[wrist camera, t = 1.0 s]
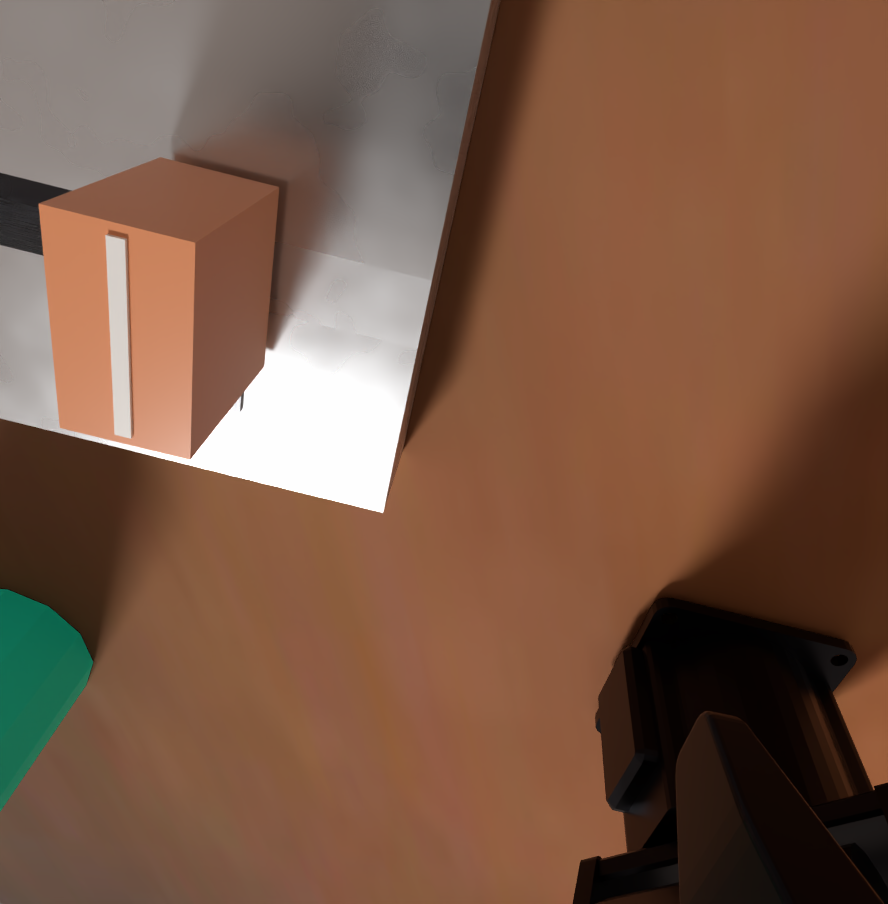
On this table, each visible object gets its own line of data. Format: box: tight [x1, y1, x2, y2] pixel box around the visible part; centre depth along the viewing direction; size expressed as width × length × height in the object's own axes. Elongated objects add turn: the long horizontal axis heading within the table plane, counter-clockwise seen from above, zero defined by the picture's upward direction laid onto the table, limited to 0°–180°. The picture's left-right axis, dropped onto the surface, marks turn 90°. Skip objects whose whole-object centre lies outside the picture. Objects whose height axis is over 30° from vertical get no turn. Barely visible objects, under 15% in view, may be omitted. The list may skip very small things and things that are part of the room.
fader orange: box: [39, 157, 279, 460], centre depth 15 cm, size 2×4×7 cm, turn 168°
